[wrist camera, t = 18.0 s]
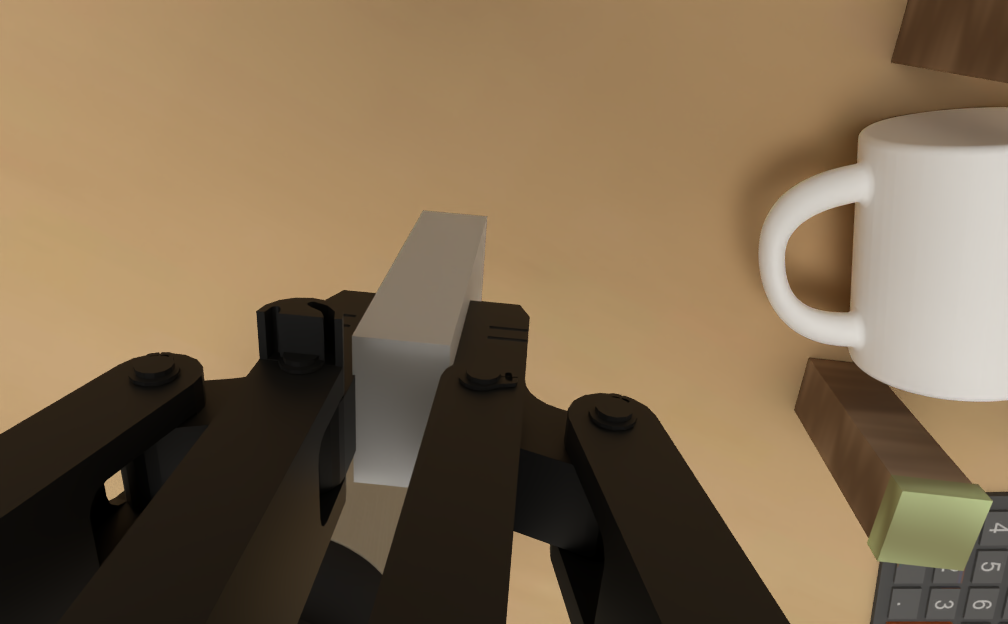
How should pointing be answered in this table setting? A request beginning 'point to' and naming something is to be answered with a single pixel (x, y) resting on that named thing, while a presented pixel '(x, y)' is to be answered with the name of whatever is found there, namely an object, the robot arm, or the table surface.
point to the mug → (913, 254)
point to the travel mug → (355, 555)
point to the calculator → (951, 582)
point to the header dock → (871, 403)
